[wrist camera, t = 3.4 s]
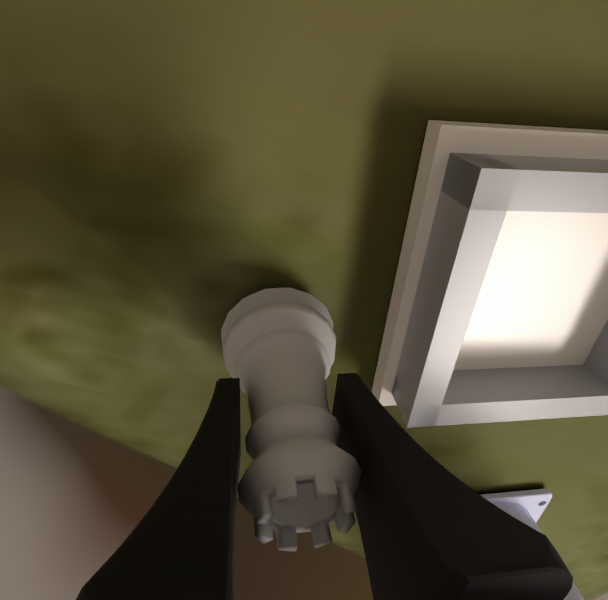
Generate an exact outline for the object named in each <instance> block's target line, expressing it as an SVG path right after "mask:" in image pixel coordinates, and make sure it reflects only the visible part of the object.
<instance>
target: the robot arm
mask: <svg viewBox="0 0 608 600" xmlns="http://www.w3.org/2000/svg"><path fill="white" fill-rule="evenodd" d="M332 415H333V416H335V417H336V419H337V421H338V423H339V425H340V427H341V435H340V442H339V443H338V445H337V447H339V448H341V449H342V450H344V451H345V452H347V453H348V454H350V455H351V456H353V457H354V458H355V459H356V461H357V463H358V464H359V466H360V468H361V470H362V476H361V483H360V487H359V489H358V491H357V494H356V496H355V498H354V499H355V503H356V507H357V511H356V515H357V519H358V523H359V527H360V532H361V537H362V542H363V547H364V552H365V556H366V562H367V567H368V572H369V578H370V583H371V589H372V594H373V600H584V599H583V597H582V596H581V594H580V592H579V591H578V589H577V588H576V586H575V584H574V583H573V577H572V575H571V573H570V572H569V570H568V569H567V567H566V565H565V564H564V562H563V560H562V559H561V557H560V556H559V554H558V552H557V551H556V549H555V548H554V547H553V545H552V544H551V542H550V541H549V540H548V538H547V537H546V536H545V535H544V534H542V532H541V530H540V529H539V527H538V526H537V524H536V522H537V520H538V519H539V517H540V516H541V514H542V513H543V511H544V509H545V508H546V506H547V505H548V503H549V501H550V500H551V498H552V494H551V492H550V491H549V490H548V489H535V490H524V491H513V492H503V493H492V494H481V495H479V494H478V493H477V492H475V491H474V490H472V489H471V488H470V487H468V486H467V485H466V484H464V483H463V482H462V481H460V480H459V479H458V478H457V477H455V476H454V475H453V474H451V473H450V472H449V471H448V470H446V469H445V468H444V467H443V466H442V465H440V464H439V463H438V462H437V461H436V460H435V459H434V458H432V457H431V456H430V455H429V454H428V453H427V452H426V451H425V450H424V449H423V448H422V447H421V446H420V445H419V444H417V443H416V442H415V441H414V439H413V438H412V437H411V436H410V435H409V434H408V433H407V432H406V431H405V430H404V429H403V428H402V427H401V426H400V425H399V424H398V423H397V422H396V420H395V419H394V418H393V417H392V416H391V415H390V414H389V413H388V411H387V410H386V409H385V408H384V407H383V406H382V404H381V403H380V402H379V401H378V400H377V398H376V397H375V396H374V395H373V393H372V392H371V391H370V390H369V388H368V387H367V386H366V385H365V383H364V382H363V381H362V379H361V378H360V377H359V376H358V375H357V374H356V373H349V374H338V377H337V384H336V391H335V398H334V405H333V411H332ZM240 456H241V438H240V378H226V379H219V380H218V381H217V382H216V387H215V390H214V394H213V397H212V400H211V403H210V405H209V408H208V410H207V413H206V415H205V417H204V419H203V421H202V424H201V426H200V428H199V430H198V432H197V434H196V436H195V438H194V440H193V442H192V444H191V446H190V448H189V449H188V451H187V453H186V455H185V457H184V459H183V460H182V462H181V464H180V465H179V467H178V469H177V470H176V472H175V473H174V475H173V477H172V478H171V480H170V481H169V483H168V485H167V486H166V487H165V489H164V490H163V491H162V493H161V495H160V496H159V497H158V499H157V500H156V501H155V503H154V504H153V506H152V507H151V508H150V510H149V511H148V512H147V514H146V515H145V516H144V518H143V519H142V520H141V521H140V522H139V524H138V525H137V526H136V527H135V529H134V530H133V531H132V532H131V534H130V535H129V536H128V537H127V538H126V540H125V541H124V542H123V543H122V545H121V546H120V547H119V548H118V549H117V550H116V551H115V553H114V554H113V555H112V556H111V557H110V558H109V559H108V560H107V561H106V562H105V563H104V565H103V566H102V567H101V568H100V569H99V570H98V571H97V572H96V573H95V574H94V575H93V576H92V578H91V579H90V580H89V581H88V582H87V583H86V584H85V585H84V586H83V588H82V589H81V591H80V593H79V595H78V597H77V599H76V600H234V524H235V514H236V502H237V491H238V479H239V468H240Z"/></svg>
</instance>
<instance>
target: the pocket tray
mask: <svg viewBox="0 0 608 600" xmlns="http://www.w3.org/2000/svg"><path fill="white" fill-rule="evenodd" d="M372 393H373V395H374V396H375V397H376V398H377V400H378V401H379V402H380V403H381V404H382V406H393V405H397V407H398V409H399V411H400V413H401V416H402V418H403V420H404V422H405V425H406V427H407V428H411V427H427V426H442V425H458V424H473V423H489V422H504V421H520V420H535V419H550V418H566V417H581V416H597V415H608V130H593V129H576V128H559V127H542V126H524V125H507V124H490V123H473V122H456V121H439V120H428V124H427V129H426V134H425V139H424V144H423V148H422V153H421V158H420V163H419V167H418V172H417V177H416V182H415V187H414V191H413V196H412V201H411V206H410V210H409V215H408V220H407V225H406V230H405V234H404V239H403V244H402V249H401V253H400V258H399V263H398V268H397V272H396V277H395V282H394V287H393V292H392V296H391V301H390V306H389V311H388V315H387V320H386V325H385V330H384V335H383V339H382V344H381V349H380V354H379V358H378V363H377V368H376V373H375V378H374V382H373V387H372Z"/></svg>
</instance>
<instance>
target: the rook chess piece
mask: <svg viewBox="0 0 608 600" xmlns="http://www.w3.org/2000/svg"><path fill="white" fill-rule="evenodd" d="M221 337H222V349H223V358H224V364H225V367H226V369H227V371H228V372H229V373H230V375H231V376H232V378H240V388H241V390H242V391H243V393H245V394H246V398H247V402H248V407H249V411H250V416H251V420H252V425H251V427H250V429H249V431H248V433H247V435H246V437H245V442H246V451H247V452H248V454H249V455H250V456H251V458H252V459H253V460H254V461H253V462H252V463H251V465H250V466H249V467H248V468H247V469H246V471H245V473H244V475H243V477H242V478H241V480H240V482H239V484H238V496H239V502H241V504H242V505H243V506H244V507H245V508H246V510H247V511H248V512H249V513H250V514H251V515H252V516H253V517H254V524H255V536H256V537H257V538H258V539H259V540H260V541H261V542H262V543H263V544H265V543H267V542H269V541H271V540H273V532H272V530H273V531H275V532H276V535H277V547H278V550H284V551H296V549H297V546H298V542H297V534H296V533H301V532H307V531H311V535H312V541H313V545H314V548H318V547H321V546H324V545H326V544H329V543H332V538H331V533H330V528H329V524H331V523H332V522H334V521H335V520H336V524H337V529H338V531H340V532H344V533H347V532H348V531H349V530H350V528H351V527H352V526H353V525H354V523H355V518H354V514H353V511H357V507H356V503H355V499H354V498H355V496H356V494H357V491H358V489H359V487H360V483H361V476H362V470H361V468H360V466H359V464H358V463H357V461H356V459H355V458H354V457H353V456H351V455H350V454H348V453H347V452H345V451H344V450H342V449H341V448H339V447H337V445H338V443H339V442H340V435H341V427H340V425H339V423H338V421H337V419H336V417H335V416H333V415H332V414H330V411H329V408H328V403H327V390H326V379H327V377H328V375H329V374H330V367H331V366H332V364H333V362H334V359H335V347H336V335H335V333H334V331H333V322H332V319H331V317H330V315H329V312H328V310H327V308H326V306H324V305H323V304H322V303H321V302H320V301H319V300H317V299H316V298H315V297H314V296H313V295H311V294H309V293H306V292H303V291H299V290H296V289H293V288H290V287H287V288H268V289H264V290H261V291H259V292H256V293H254V294H252V295H249V296H247V297H244V298H243V299H242V300H241V301H240V302H239V303H238V304H237V305H236V306H235V307H234V308H233V309H231V310H230V311H229V312H228V314H227V317H226V319H225V322H224V324H223V327H222V329H221Z"/></svg>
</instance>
